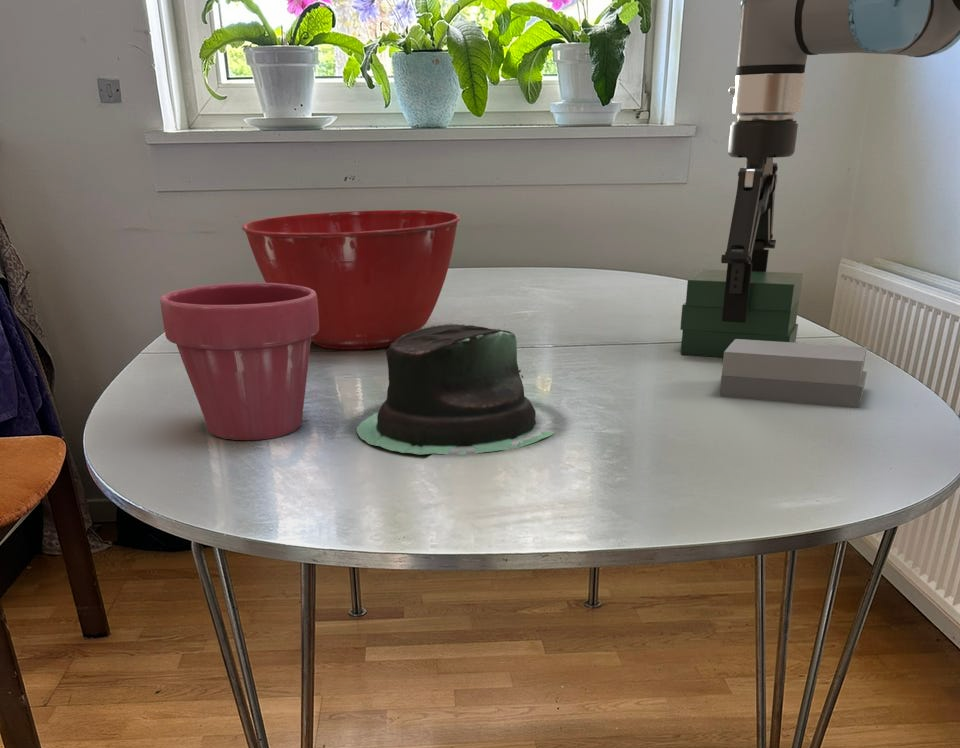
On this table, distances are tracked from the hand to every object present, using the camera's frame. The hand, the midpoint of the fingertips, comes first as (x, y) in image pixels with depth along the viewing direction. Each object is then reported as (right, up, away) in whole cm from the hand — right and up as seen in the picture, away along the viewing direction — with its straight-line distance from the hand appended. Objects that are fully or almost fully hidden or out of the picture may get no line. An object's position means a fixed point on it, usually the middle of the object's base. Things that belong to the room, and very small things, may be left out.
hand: (743, 312), depth 119 cm
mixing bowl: (-50, 0, +13) cm, 51 cm away
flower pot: (-55, -20, -24) cm, 64 cm away
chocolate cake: (-35, -20, -25) cm, 48 cm away
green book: (0, +1, 0) cm, 1 cm away
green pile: (0, -4, +2) cm, 5 cm away
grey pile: (0, -15, -18) cm, 23 cm away
